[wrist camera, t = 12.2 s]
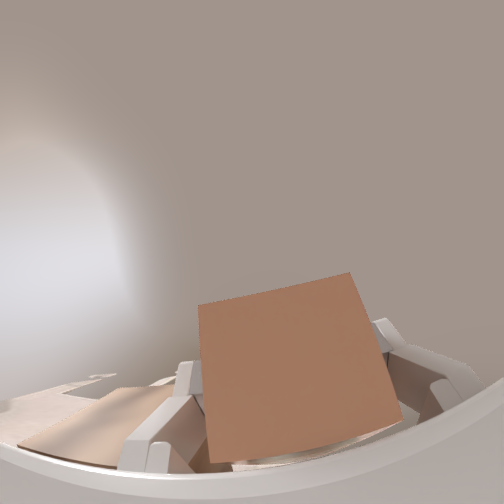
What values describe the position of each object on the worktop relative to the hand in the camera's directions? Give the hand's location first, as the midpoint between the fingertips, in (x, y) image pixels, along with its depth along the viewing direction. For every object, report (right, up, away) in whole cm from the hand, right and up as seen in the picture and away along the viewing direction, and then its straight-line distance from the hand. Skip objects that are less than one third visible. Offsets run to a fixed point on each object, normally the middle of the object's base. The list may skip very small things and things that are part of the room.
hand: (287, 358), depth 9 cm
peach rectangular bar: (+2, -8, +4) cm, 9 cm away
